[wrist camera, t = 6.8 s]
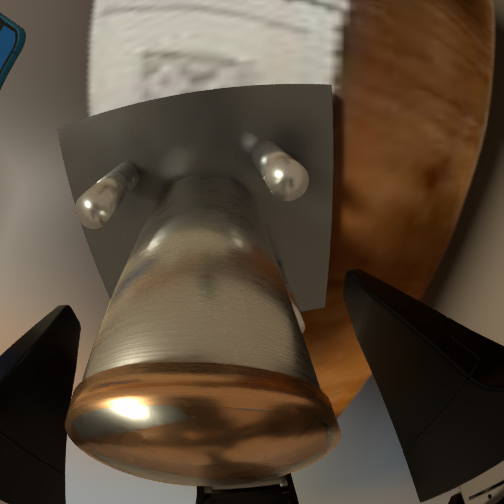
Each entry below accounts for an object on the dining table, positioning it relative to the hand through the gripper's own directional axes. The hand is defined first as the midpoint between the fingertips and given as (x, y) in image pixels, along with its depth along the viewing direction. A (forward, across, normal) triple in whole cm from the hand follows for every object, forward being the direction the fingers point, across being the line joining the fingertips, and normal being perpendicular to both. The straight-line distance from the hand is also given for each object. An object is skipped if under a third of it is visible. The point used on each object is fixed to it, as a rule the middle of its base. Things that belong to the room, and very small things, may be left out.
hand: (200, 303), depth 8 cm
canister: (+5, 0, 0) cm, 5 cm away
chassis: (+6, 0, 0) cm, 6 cm away
